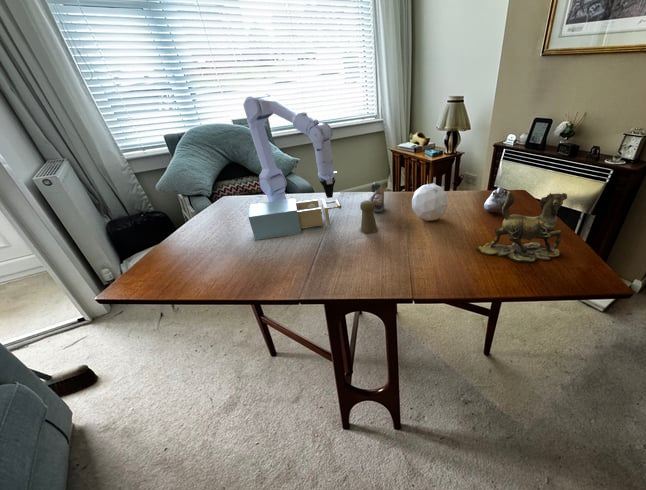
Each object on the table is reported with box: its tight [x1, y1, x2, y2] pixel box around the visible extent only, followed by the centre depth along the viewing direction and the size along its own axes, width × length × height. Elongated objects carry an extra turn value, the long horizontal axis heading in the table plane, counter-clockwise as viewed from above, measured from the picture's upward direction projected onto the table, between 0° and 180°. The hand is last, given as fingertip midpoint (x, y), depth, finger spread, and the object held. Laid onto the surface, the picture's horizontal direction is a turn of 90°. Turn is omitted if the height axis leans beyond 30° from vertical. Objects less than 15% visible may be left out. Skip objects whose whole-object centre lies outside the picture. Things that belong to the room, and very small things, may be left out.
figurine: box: [477, 190, 568, 264], centre depth 92 cm, size 13×25×20 cm, turn 79°
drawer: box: [296, 197, 343, 229], centre depth 118 cm, size 21×11×7 cm, turn 107°
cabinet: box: [247, 198, 302, 241], centre depth 115 cm, size 17×13×9 cm
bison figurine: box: [369, 181, 385, 213], centre depth 128 cm, size 12×7×10 cm, turn 0°
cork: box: [359, 199, 378, 234], centre depth 112 cm, size 6×6×11 cm
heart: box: [483, 186, 510, 213], centre depth 120 cm, size 10×10×12 cm
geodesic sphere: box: [411, 183, 449, 222], centre depth 117 cm, size 15×14×14 cm
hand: (329, 197), depth 117 cm, fingers closed
